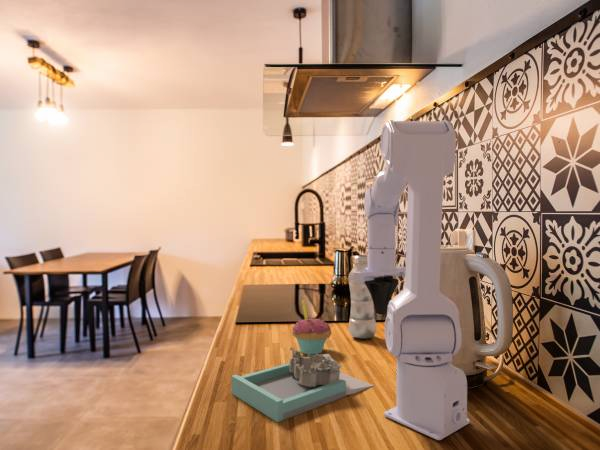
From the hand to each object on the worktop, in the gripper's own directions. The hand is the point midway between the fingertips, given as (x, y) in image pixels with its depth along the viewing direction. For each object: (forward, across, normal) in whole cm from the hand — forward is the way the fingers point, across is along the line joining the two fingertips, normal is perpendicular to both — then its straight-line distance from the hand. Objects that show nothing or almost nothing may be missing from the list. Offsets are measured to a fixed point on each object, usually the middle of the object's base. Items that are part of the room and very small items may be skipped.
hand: (381, 313), depth 89 cm
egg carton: (+9, +23, +2) cm, 25 cm away
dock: (+9, +23, +2) cm, 25 cm away
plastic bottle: (+10, -8, -13) cm, 18 cm away
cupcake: (+10, +8, -13) cm, 18 cm away
